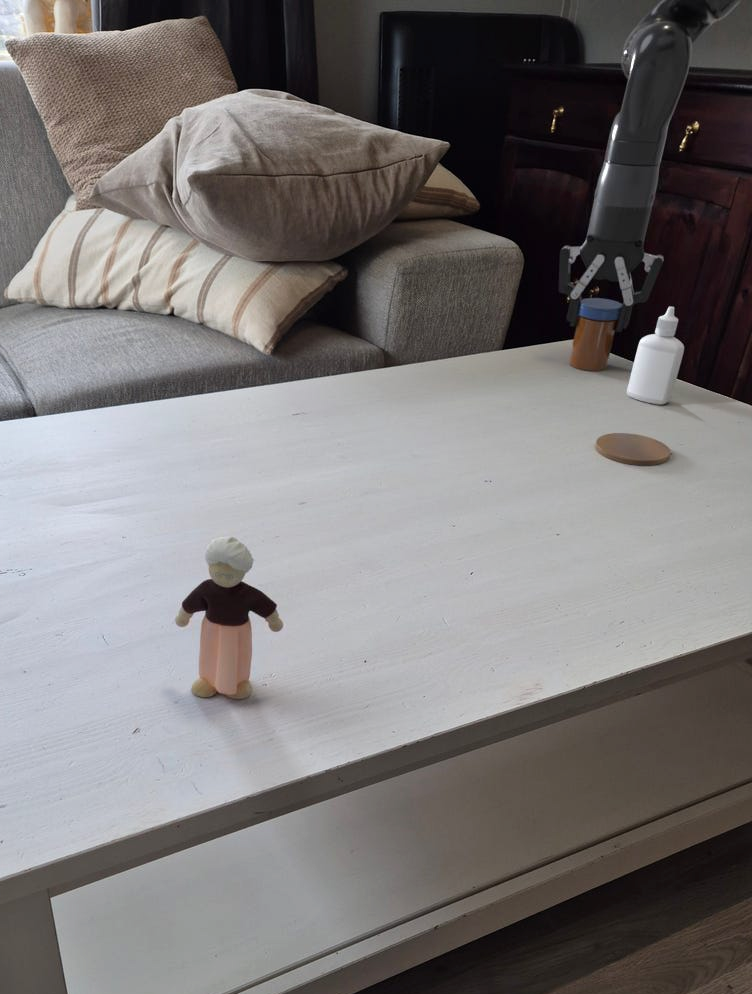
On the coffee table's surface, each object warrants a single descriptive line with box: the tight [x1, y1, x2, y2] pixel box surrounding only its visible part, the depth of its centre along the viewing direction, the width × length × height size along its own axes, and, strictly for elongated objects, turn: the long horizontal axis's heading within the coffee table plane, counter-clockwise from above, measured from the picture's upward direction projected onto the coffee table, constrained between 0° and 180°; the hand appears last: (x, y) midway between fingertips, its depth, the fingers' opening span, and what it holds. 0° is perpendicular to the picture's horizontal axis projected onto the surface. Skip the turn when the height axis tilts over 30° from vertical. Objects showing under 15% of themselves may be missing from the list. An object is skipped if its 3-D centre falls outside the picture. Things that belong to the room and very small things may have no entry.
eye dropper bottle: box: [626, 306, 685, 405], centre depth 121 cm, size 4×6×12 cm
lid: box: [578, 297, 623, 321], centre depth 131 cm, size 6×6×2 cm
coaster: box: [594, 432, 671, 466], centre depth 109 cm, size 8×8×1 cm
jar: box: [568, 314, 619, 372], centre depth 133 cm, size 5×5×8 cm
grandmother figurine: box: [174, 536, 284, 700], centre depth 65 cm, size 8×4×13 cm, turn 96°
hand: (595, 327), depth 132 cm, fingers closed on lid, 5 cm apart
